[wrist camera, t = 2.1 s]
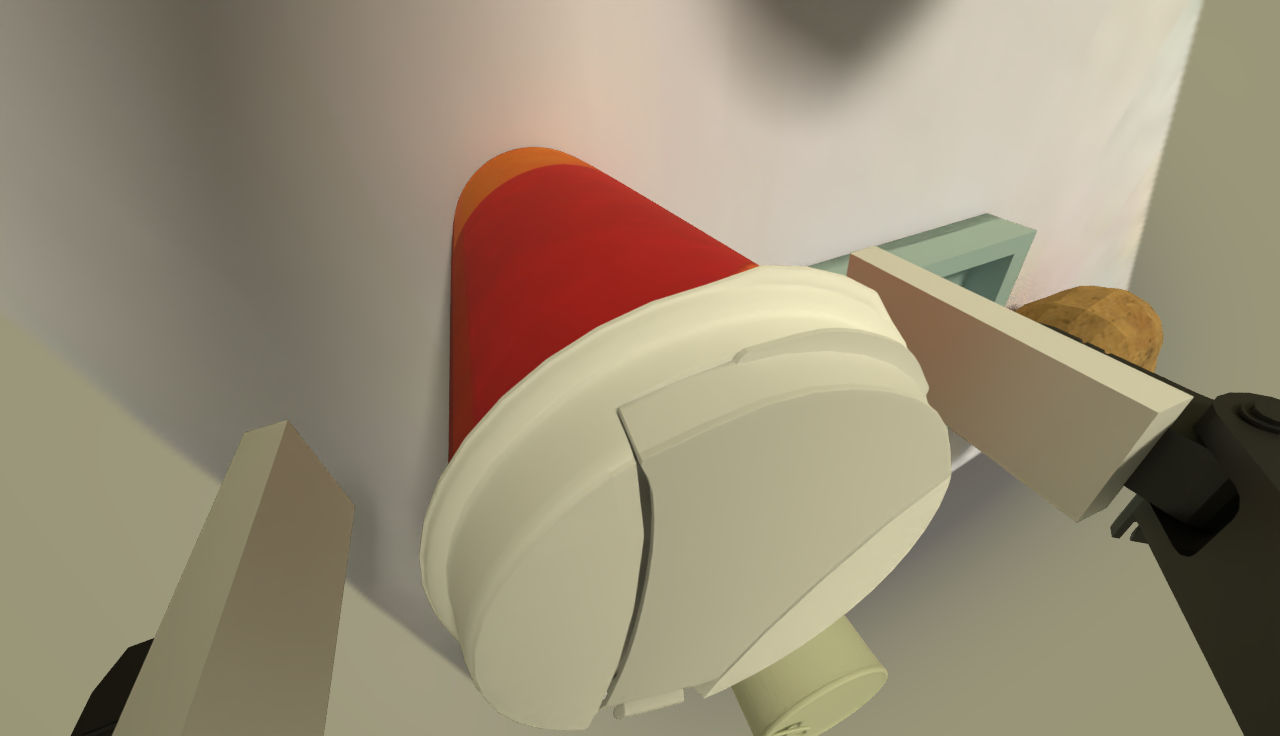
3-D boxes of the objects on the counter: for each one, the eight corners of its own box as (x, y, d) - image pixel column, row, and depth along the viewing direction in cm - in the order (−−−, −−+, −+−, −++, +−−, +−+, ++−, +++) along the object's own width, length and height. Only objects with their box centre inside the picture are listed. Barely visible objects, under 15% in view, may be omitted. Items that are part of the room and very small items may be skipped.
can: (689, 528, 33) (790, 718, 24) (796, 501, 37) (919, 660, 28) (668, 602, 39) (746, 781, 29) (764, 572, 42) (860, 726, 33)
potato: (1085, 228, 30) (1252, 280, 24) (1027, 382, 39) (1138, 448, 33) (959, 291, 29) (1099, 362, 23) (929, 434, 38) (1025, 512, 32)
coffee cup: (599, 341, 22) (795, 690, 11) (399, 305, 18) (367, 814, 6) (674, 155, 18) (1093, 381, 7) (445, 56, 14) (560, 212, 3)
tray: (781, 274, 23) (817, 299, 21) (987, 213, 26) (1036, 230, 24) (765, 461, 32) (790, 492, 30) (921, 401, 35) (953, 425, 33)
